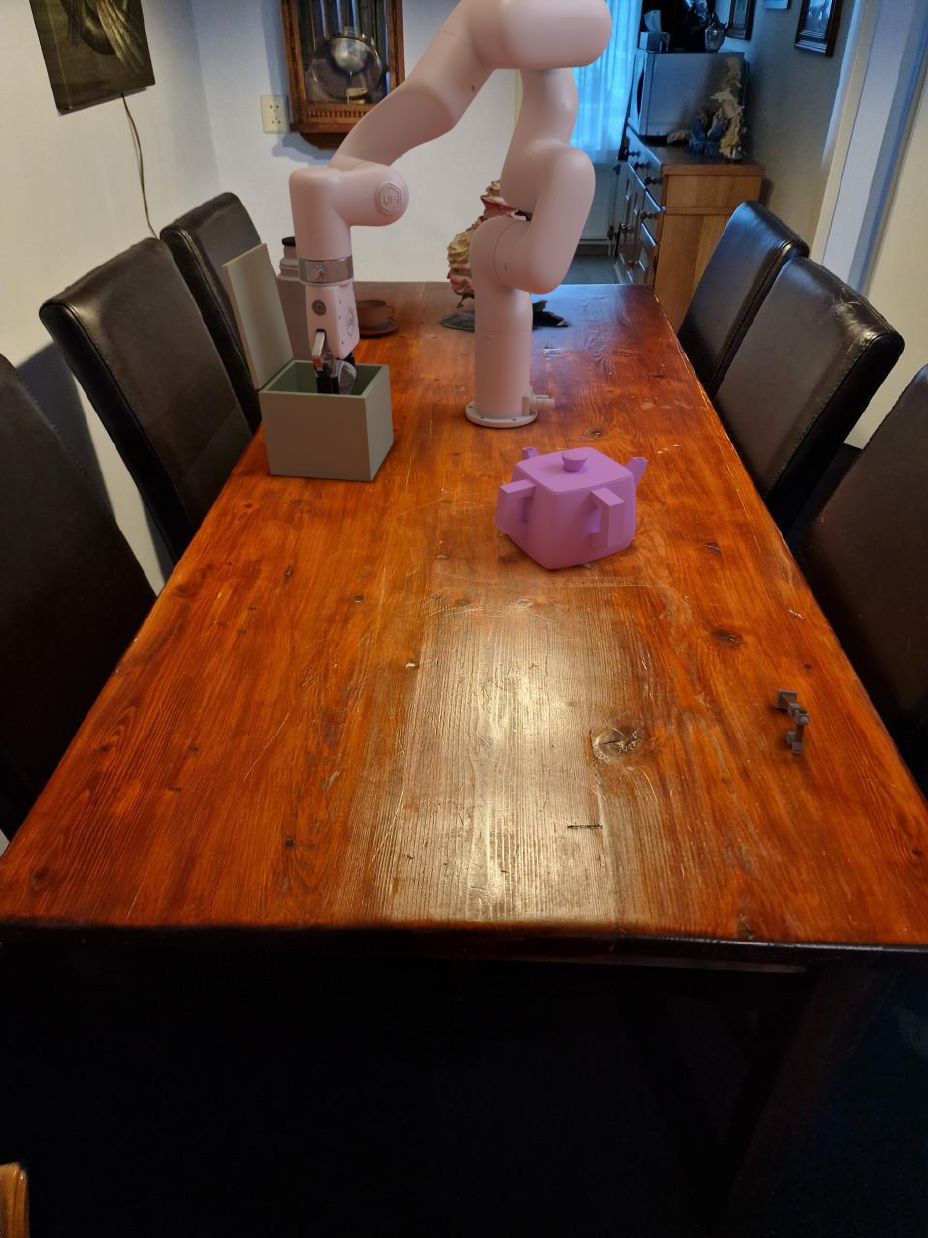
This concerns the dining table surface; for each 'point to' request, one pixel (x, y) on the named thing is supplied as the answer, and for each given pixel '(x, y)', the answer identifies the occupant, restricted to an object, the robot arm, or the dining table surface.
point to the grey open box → (327, 423)
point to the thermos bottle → (294, 302)
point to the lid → (258, 313)
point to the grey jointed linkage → (800, 716)
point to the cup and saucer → (375, 317)
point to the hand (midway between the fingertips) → (338, 392)
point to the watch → (345, 376)
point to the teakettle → (570, 505)
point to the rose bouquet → (461, 264)
